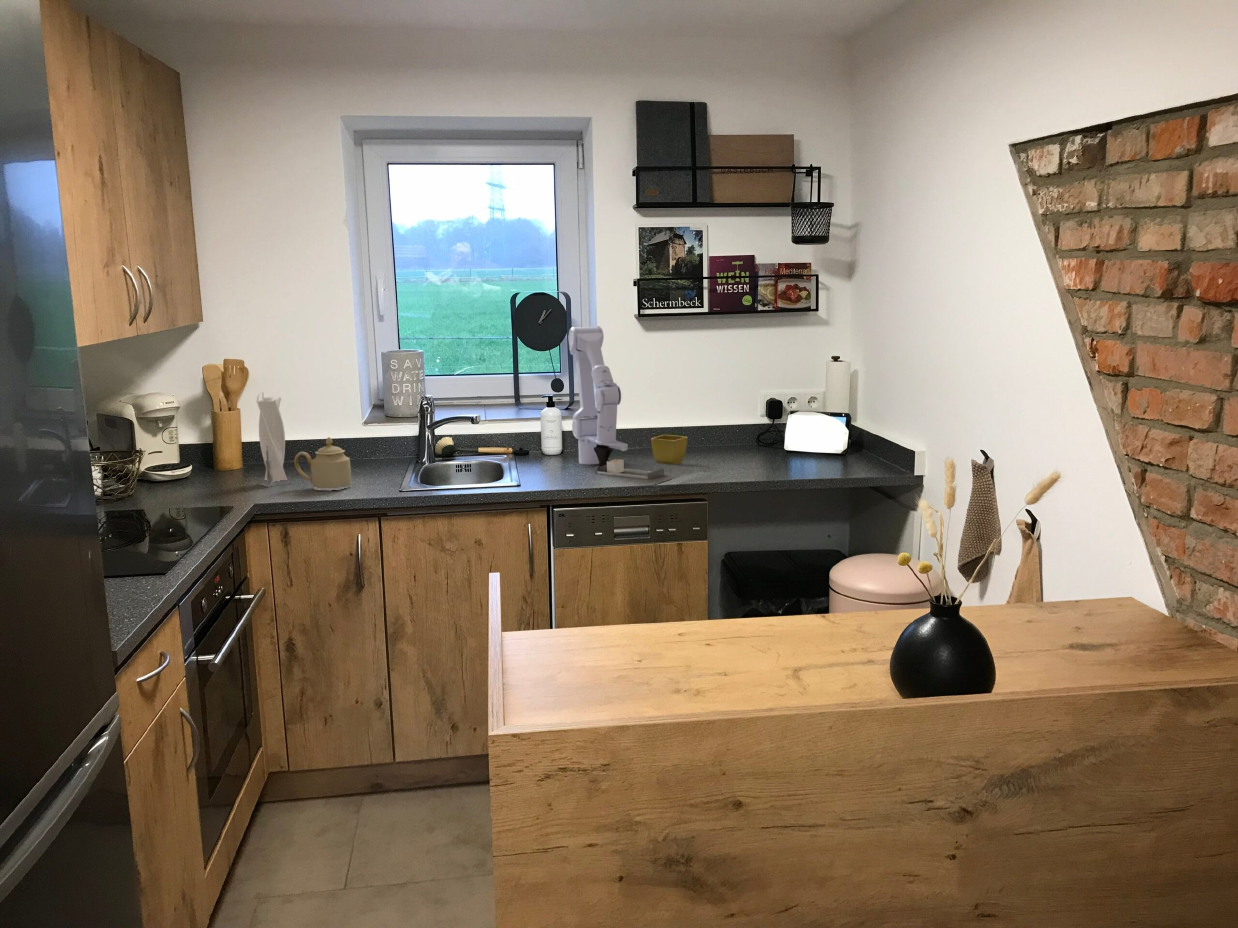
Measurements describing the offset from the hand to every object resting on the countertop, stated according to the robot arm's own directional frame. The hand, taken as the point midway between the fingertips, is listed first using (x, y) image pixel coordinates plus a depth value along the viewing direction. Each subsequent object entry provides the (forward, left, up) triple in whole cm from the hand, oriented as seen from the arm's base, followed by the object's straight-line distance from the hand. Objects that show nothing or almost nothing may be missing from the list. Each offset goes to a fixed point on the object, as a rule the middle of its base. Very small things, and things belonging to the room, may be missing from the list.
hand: (604, 470), depth 292 cm
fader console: (0, +9, -2) cm, 9 cm away
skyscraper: (+58, -81, -2) cm, 100 cm away
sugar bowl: (+55, -61, -2) cm, 82 cm away
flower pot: (-24, +8, -2) cm, 25 cm away
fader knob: (0, +4, 0) cm, 4 cm away
